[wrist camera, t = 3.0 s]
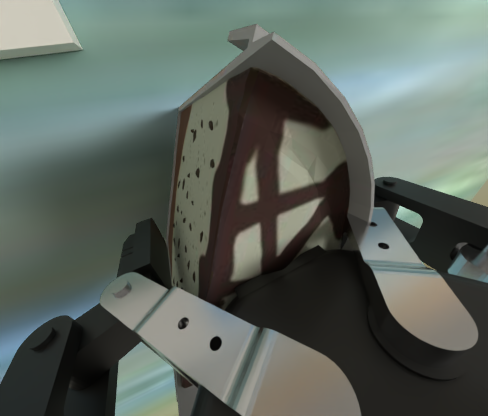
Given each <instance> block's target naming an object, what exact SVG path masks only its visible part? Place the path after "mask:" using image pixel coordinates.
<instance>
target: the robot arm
mask: <svg viewBox="0 0 488 416" xmlns="http://www.w3.org/2000/svg"><path fill="white" fill-rule="evenodd" d="M374 182H375V190H374V209H373V214H372V219H371V224H370V226H369V225H368V222H367V221H365V220H362V219H360V218H358V217H356V216H354V215H352V214H350V213H346V215H345V220H344V225H343V230H342V236H341V244H340V249H332V250H324V249H323V248H322V247H320V246H319V245H317V246H315V247H313V248H312V249H310V250H308V251H306V252H304V253H302V254H300V255H299V256H298V257H297V258H296V259H294V260H293V261H292V262H291V263H290V264H289V265H288V266H287V267H286V268H285V269H283V270H280V271H276V272H272V273H268V274H264V275H260V276H257V277H255V278H253V279H251V280H249V281H247V282H245V283H243V284H241V285H239V286H237V287H235V291H236V294H237V296H236V297H235V298H234V299H233V300H232V301H231V302H230V303H229V305H228V306H227V307H226V309H225V310H222V309H220V308H218V307H216V306H214V305H212V304H210V303H208V302H206V301H204V300H202V299H200V298H198V297H196V296H194V295H192V294H190V293H188V292H186V291H184V290H182V289H180V288H178V287H175V286H172V284H171V275H170V267H169V258H168V249H167V245H166V243H165V240H164V238H163V237H162V235H161V233H160V231H159V229H158V227H157V226H156V224H155V222H154V220H153V219H152V218H150V219H147V220H144V221H141V222H139V223H137V224H136V230H135V234H133V235H130V236H129V237H128V238H127V240H126V241H125V242H124V244H123V249H122V251H123V252H122V254H121V259H120V264H119V269H118V274H117V278H116V279H115V280H113V281H112V282H111V283H110V284H109V285H108V286H107V287H106V288H105V289H104V291H103V292H102V294H101V297H100V303H99V304H98V305H96V306H95V307H93V308H92V309H90V310H89V311H87V312H86V313H84V314H83V315H82V316H80V317H79V318H77V319H76V320H73V319H72V318H71V317H69V316H65V315H64V316H59V317H56V318H53V319H51V320H49V321H48V322H46V323H44V324H43V325H42V326H40V327H39V328H38V329H36V330H35V331H34V332H33V333H32V334H31V335H30V336H29V337H28V338H27V339H26V340H25V341H24V342H23V343H22V344H21V346H20V347H19V349H18V350H17V352H16V354H15V356H14V358H13V360H12V362H11V364H10V366H9V368H8V370H7V372H6V374H5V376H4V378H3V380H2V382H1V384H0V416H115V403H116V389H117V375H118V362H119V360H120V359H121V358H122V357H124V356H125V355H126V354H127V353H128V352H129V351H130V350H132V349H133V348H134V347H135V346H136V345H137V344H139V343H140V342H142V343H143V344H145V345H146V346H147V347H148V348H150V349H151V350H152V351H153V352H154V353H156V354H157V355H158V356H159V357H160V358H162V359H163V360H164V361H165V362H167V363H168V364H169V365H170V366H171V367H173V368H174V369H175V370H176V371H177V372H178V373H179V374H181V375H182V376H183V377H184V378H185V379H187V380H188V381H189V382H190V383H191V384H193V385H194V386H195V387H196V388H197V389H198V391H197V394H196V398H195V401H194V404H193V408H192V411H191V415H190V416H488V207H486V206H483V205H480V204H477V203H473V202H470V201H467V200H464V199H461V198H458V197H455V196H452V195H448V194H445V193H442V192H439V191H436V190H433V189H430V188H427V187H423V186H420V185H417V184H414V183H411V182H408V181H405V180H401V179H398V178H393V177H380V178H377V179H375V180H374ZM399 206H402V207H405V208H407V209H409V210H412V211H414V212H416V213H418V214H419V215H420V216H421V217H422V219H423V223H422V226H421V228H420V229H419V228H417V227H415V226H413V225H410V224H408V223H406V222H404V221H402V220H400V219H398V218H396V214H397V212H398V209H399ZM348 238H349V241H350V244H351V247H352V250H353V251H350V250H343V249H342V248H343V246H344V245H345V243H346V241H347V239H348ZM420 260H421V261H422V262H424V263H426V264H427V265H429V266H430V267H432V268H434V269H435V270H433V269H430V268H427V267H425V266H424V265H423V263H422V262H421V261H420ZM436 270H437V271H436Z"/></svg>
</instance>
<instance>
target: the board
mask: <svg viewBox="0 0 488 416" xmlns="http://www.w3.org/2000/svg"><path fill="white" fill-rule="evenodd" d="M78 50H83V49H82V47H81V45H80V43H79V41H78V39H77V37H76V35H75V33H74V31H73V29H72V27H71V25H70V23H69V21H68V19H67V17H66V15H65V13H64V11H63V9H62V7H61V5H60V3H59V1H58V0H0V60H1V59H9V58H18V57H26V56H35V55H43V54H52V53H60V52H69V51H78Z"/></svg>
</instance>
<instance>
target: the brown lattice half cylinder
mask: <svg viewBox="0 0 488 416" xmlns="http://www.w3.org/2000/svg"><path fill="white" fill-rule="evenodd" d="M228 41H229V42H230V43H232V44H233V45H235V46H237V47H238V48H240V49H241V50H243V52H242V53H241V54H240V55H239V56H237V57H236V58H235V59H234V60H233V61H232V62H231V63H229V64H228V65H227V66H226V67H225V68H224V69H223V70H221V71H220V72H219V73H218V74H217V75H216V76H214V77H213V78H212V79H211V80H210V81H209V82H208V83H206V84H205V85H204V86H203V87H202V88H201V89H200V90H198V91H197V92H196V93H195V94H194V95H193V96H191V97H190V98H189V99H188V100H187V101H186V102H185V103H183V104H182V105H181V106H180V107H179V109H178V119H177V130H176V140H175V150H174V161H173V171H172V182H171V192H170V202H169V213H168V223H167V233H166V245H167V249H168V258H169V267H170V275H171V284H172V286H175V287H178V288H180V289H182V290H184V291H186V292H188V293H190V294H192V295H194V296H196V297H198V298H200V299H202V300H204V301H206V302H208V303H210V304H212V305H214V306H216V307H218V308H220V309H222V310H225V309H226V307H227V306H228V305H229V303H230V302H231V301H232V300H233V299H234V298H235V297H236V296H237V294H236V291H235V287H237V286H239V285H241V284H243V283H245V282H247V281H249V280H251V279H253V278H255V277H257V276H260V275H264V274H268V273H272V272H276V271H280V270H283V269H285V268H286V267H287V266H288V265H289V264H290V263H291V262H292V261H293V260H294V259H296V258H297V257H298V256H299V255H300V254H302V253H304V252H306V251H308V250H310V249H312V248H313V247H315V246H317V245H319V246H320V247H322V248H323V249H324V250H332V249H340V244H341V236H342V230H343V225H344V220H345V215H346V213H350V214H352V215H354V216H356V217H358V218H360V219H362V220H365V221H367V222H368V225H369V226H370V224H371V219H372V214H373V209H374V190H375V182H374V173H373V165H372V157H371V154H370V151H369V148H368V145H367V141H366V138H365V135H364V132H363V129H362V127H361V125H360V123H359V122H358V120H357V118H356V116H355V114H354V113H353V111H352V109H351V107H350V105H349V104H348V102H347V100H346V98H345V97H344V96H343V95H342V93H341V92H340V91H339V90H338V89H337V88H336V86H335V85H334V84H333V83H332V82H331V81H330V80H329V78H328V77H327V76H326V75H325V74H324V73H323V71H322V70H321V69H320V68H319V67H318V66H317V65H316V63H314V62H313V61H312V60H310V59H309V58H308V57H307V56H305V55H304V54H303V53H301V52H300V51H299V50H297V49H296V48H295V47H293V46H292V45H291V44H290V43H288V42H287V41H286V40H284V39H283V38H282V37H280V36H279V35H278V34H276V33H275V32H272V33H270V34H269V33H268V32H267V31H265V30H264V29H263V28H262V27H260V26H259V25H258V24H254V25H251V26H247V27H243V28H240V29H236V30H232V31H230V32H229V36H228ZM342 249H343V250H350V251H353V250H352V247H351V244H350V241H349V238H348V239H347V241H346V243H345V245H344V246H343V248H342ZM173 369H174V368H173ZM174 378H175V388H176V397H177V402H178V410H179V416H190V415H191V411H192V408H193V404H194V401H195V398H196V394H197V391H198V389H197V388H196V387H195V386H194V385H193V384H191V383H190V382H189V381H188V380H187V379H185V378H184V377H183V376H182V375H181V374H179V373H178V372H177V371H176V370H175V369H174Z"/></svg>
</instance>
